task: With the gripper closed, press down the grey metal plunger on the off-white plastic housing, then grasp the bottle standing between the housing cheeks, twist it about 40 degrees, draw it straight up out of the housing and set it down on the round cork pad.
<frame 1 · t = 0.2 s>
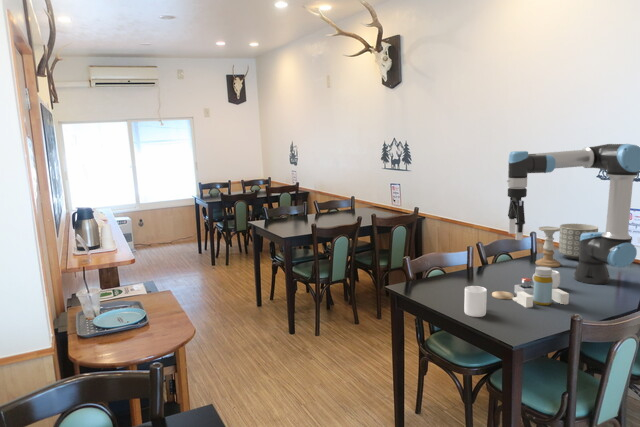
hand: (515, 236, 211), 26 cm above the table, fingers open, 13 cm apart
bottle: (542, 303, 205), on the table
candle holder: (547, 265, 264), on the table
mug: (545, 287, 225), on the table
cup: (477, 312, 196), on the table
pad: (502, 296, 215), on the table
planter: (577, 258, 277), on the table
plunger: (526, 283, 216), point 5 cm above the table, slide at 0.0 cm
housing: (542, 303, 205), on the table
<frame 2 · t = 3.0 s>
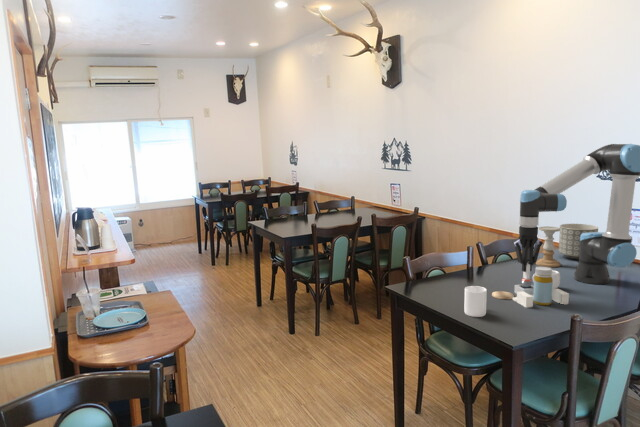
hand: (526, 278, 215), 7 cm above the table, fingers closed
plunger: (526, 284, 216), point 5 cm above the table, slide at 0.1 cm, touching gripper
everything else where it was.
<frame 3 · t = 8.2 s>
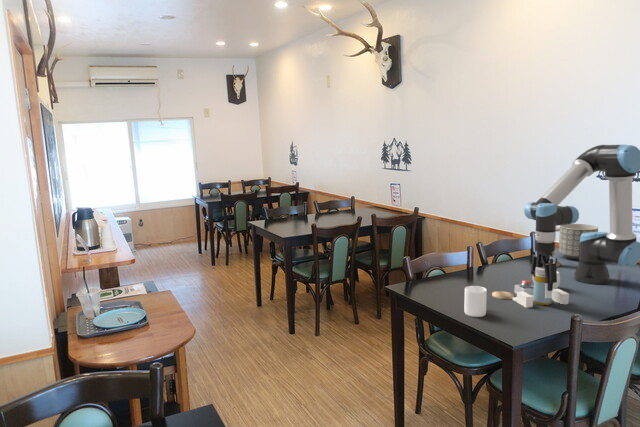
hand: (542, 294, 204), 4 cm above the table, fingers closed on bottle, 7 cm apart
bottle: (542, 303, 205), on the table, touching gripper
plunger: (526, 286, 216), point 4 cm above the table, slide at 1.1 cm
everything else where it was.
when the fingers open (6 cm above the table, at t = 14.5 s): bottle drops 1 cm, resting on pad.
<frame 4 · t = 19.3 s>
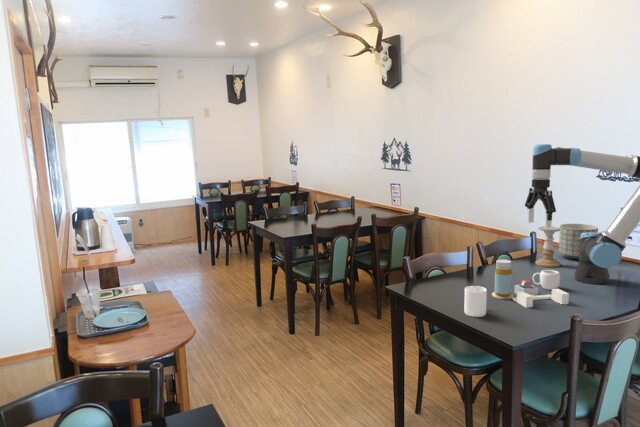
hand: (539, 224, 225), 29 cm above the table, fingers open, 13 cm apart
bottle: (503, 294, 215), point 1 cm above the table, touching pad
everything else where it was.
at the end: bottle 0.0 cm from the pad (horizontally); bottle tilted 1°; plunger slide at 1.1 cm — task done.
